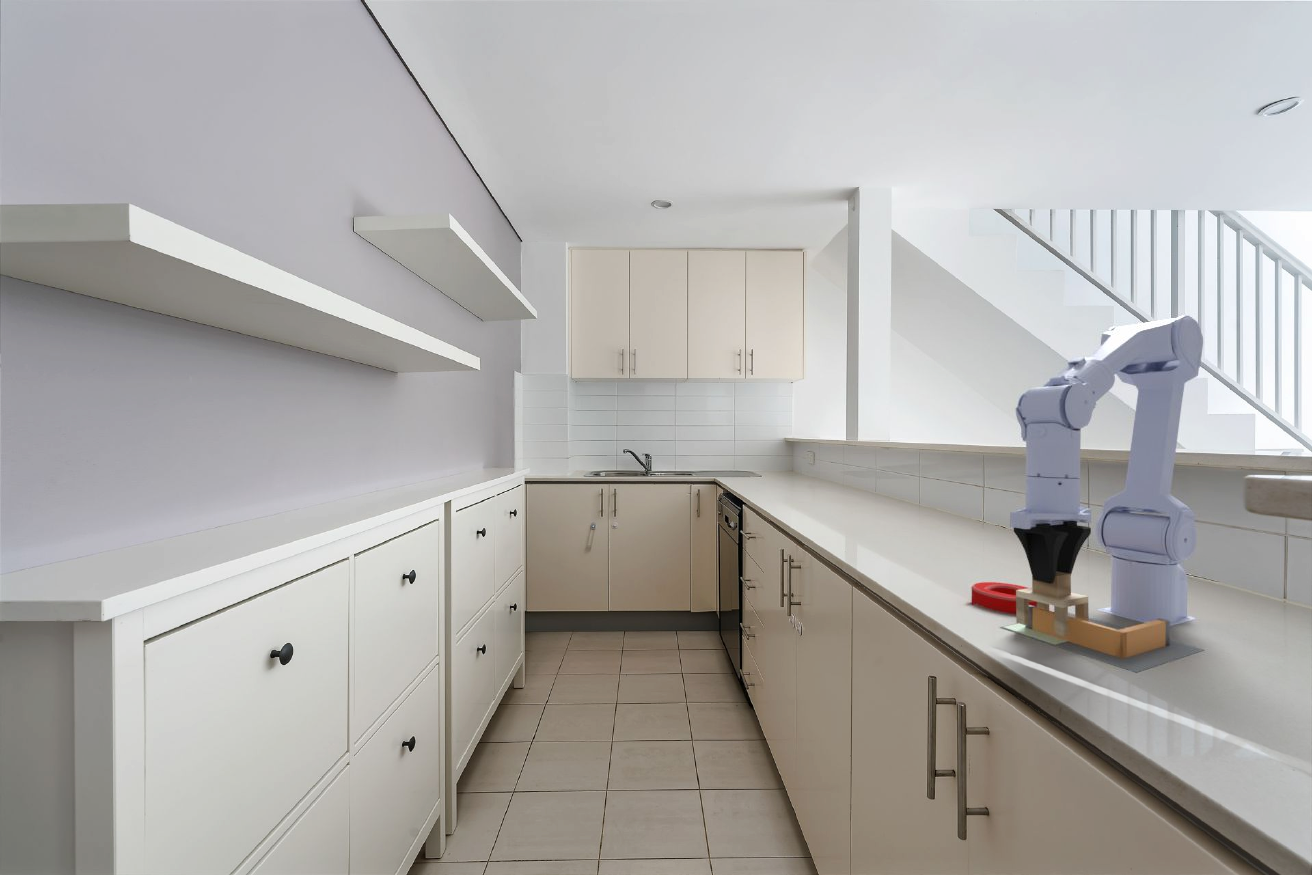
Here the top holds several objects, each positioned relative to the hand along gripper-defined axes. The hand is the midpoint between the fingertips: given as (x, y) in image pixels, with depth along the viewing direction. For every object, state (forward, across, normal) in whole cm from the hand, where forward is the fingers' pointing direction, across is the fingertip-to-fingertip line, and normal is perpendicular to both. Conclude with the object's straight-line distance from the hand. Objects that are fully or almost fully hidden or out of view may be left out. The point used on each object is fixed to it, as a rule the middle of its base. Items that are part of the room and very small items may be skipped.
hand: (1051, 580), depth 69 cm
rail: (+7, +5, -3) cm, 9 cm away
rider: (+6, 0, 0) cm, 6 cm away
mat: (+8, +4, -3) cm, 10 cm away
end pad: (+8, 0, +1) cm, 8 cm away
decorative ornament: (+8, +8, +10) cm, 16 cm away
